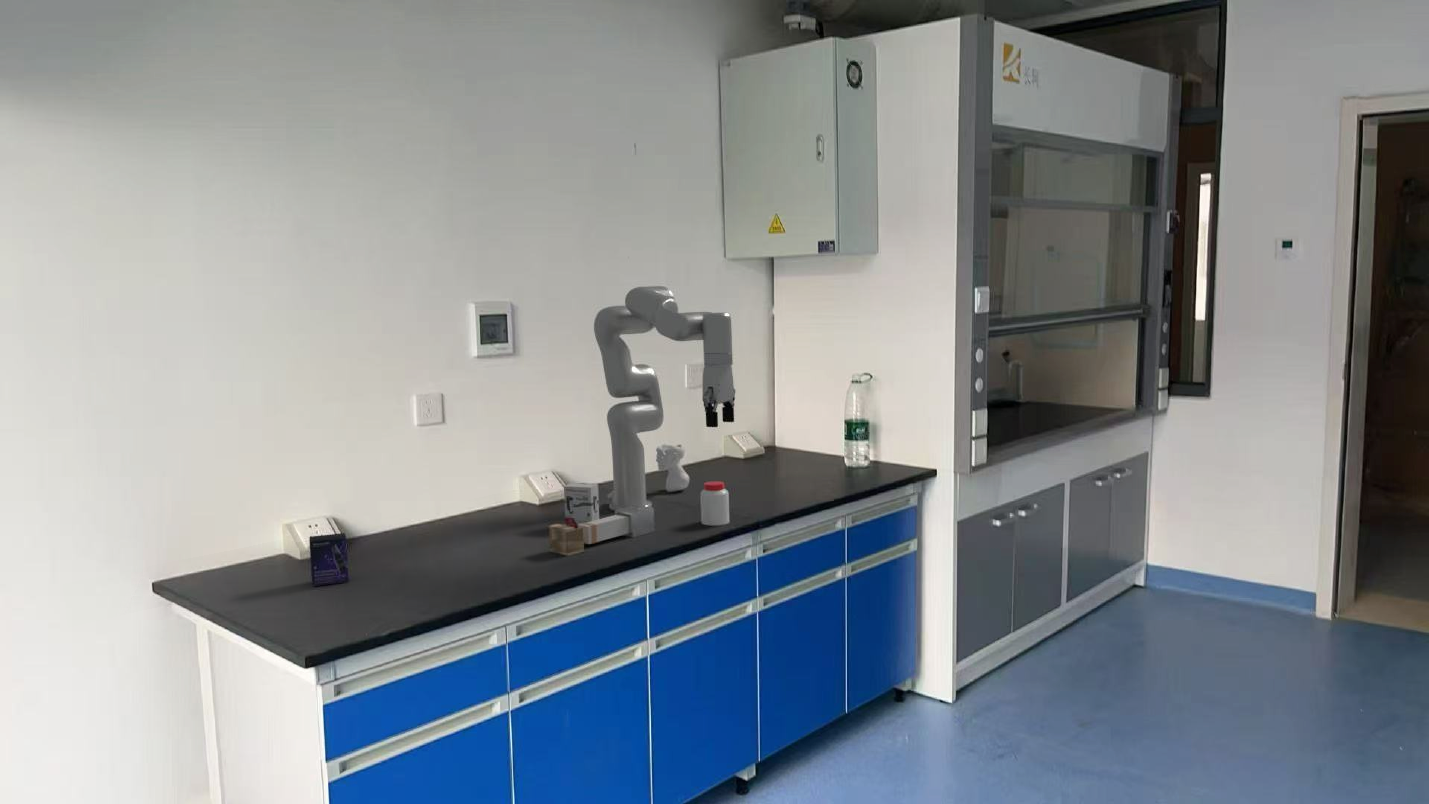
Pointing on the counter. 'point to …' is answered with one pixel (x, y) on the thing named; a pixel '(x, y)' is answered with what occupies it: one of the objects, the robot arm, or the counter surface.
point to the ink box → (581, 503)
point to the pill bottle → (714, 504)
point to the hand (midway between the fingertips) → (720, 424)
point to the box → (328, 559)
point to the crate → (566, 539)
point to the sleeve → (639, 519)
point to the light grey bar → (605, 528)
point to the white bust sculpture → (672, 466)
